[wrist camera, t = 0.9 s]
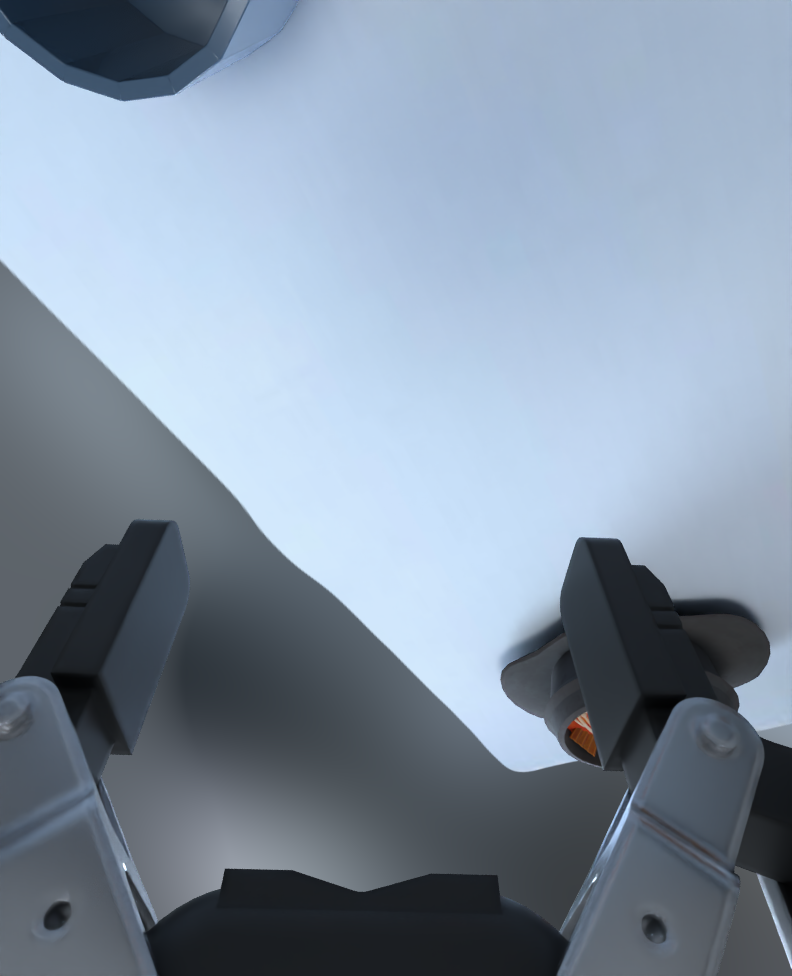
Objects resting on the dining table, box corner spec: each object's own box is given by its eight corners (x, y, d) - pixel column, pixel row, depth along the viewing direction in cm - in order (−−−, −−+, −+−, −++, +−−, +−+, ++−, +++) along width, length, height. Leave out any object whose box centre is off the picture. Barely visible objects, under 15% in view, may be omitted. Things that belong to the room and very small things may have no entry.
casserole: (537, 720, 70) (545, 795, 64) (469, 634, 60) (471, 714, 54) (775, 675, 61) (812, 759, 54) (744, 563, 50) (785, 651, 44)
